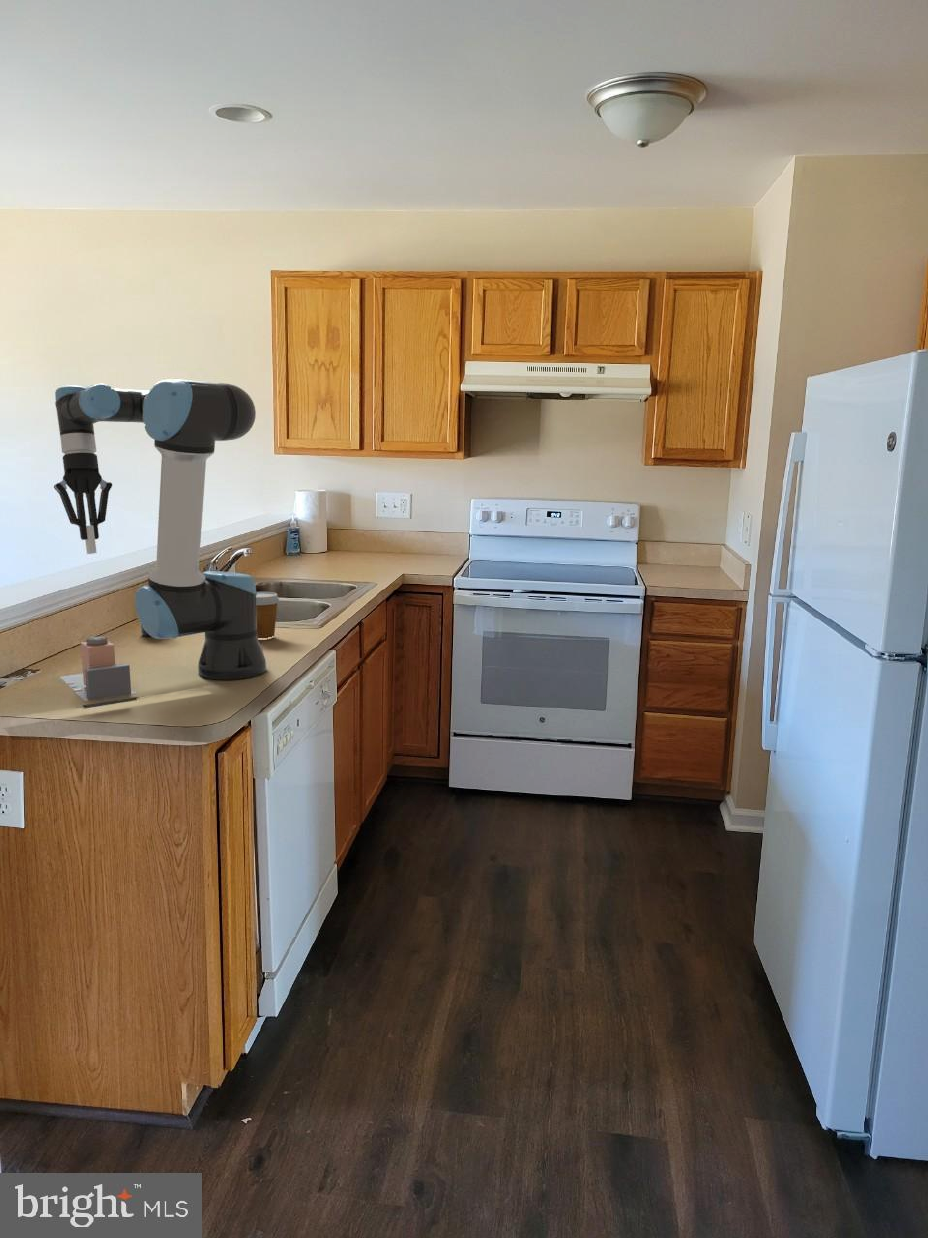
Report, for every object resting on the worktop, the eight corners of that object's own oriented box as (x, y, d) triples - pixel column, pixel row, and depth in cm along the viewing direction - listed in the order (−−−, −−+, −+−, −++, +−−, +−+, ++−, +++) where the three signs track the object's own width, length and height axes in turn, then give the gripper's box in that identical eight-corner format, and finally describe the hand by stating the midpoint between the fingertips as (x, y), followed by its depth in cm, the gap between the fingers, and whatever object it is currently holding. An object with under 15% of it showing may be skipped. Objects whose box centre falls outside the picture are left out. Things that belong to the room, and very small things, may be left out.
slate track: (59, 683, 187) (57, 649, 185) (107, 676, 193) (105, 644, 191) (85, 708, 170) (82, 671, 168) (136, 700, 176) (134, 664, 174)
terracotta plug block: (83, 684, 179) (80, 637, 177) (108, 680, 182) (105, 634, 180) (91, 691, 175) (87, 643, 173) (116, 687, 178) (113, 640, 176)
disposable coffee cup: (287, 638, 233) (286, 594, 230) (257, 643, 226) (256, 599, 223) (266, 632, 239) (265, 590, 237) (236, 638, 232) (235, 594, 230)
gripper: (103, 456, 210) (115, 552, 212) (46, 456, 202) (58, 556, 204) (112, 451, 204) (124, 550, 206) (53, 451, 196) (66, 553, 198)
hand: (91, 553), depth 205 cm, fingers closed
